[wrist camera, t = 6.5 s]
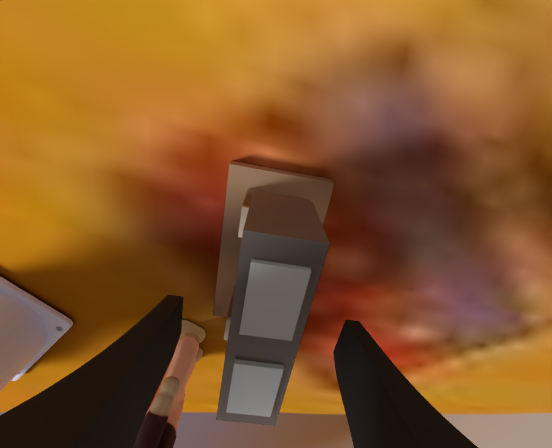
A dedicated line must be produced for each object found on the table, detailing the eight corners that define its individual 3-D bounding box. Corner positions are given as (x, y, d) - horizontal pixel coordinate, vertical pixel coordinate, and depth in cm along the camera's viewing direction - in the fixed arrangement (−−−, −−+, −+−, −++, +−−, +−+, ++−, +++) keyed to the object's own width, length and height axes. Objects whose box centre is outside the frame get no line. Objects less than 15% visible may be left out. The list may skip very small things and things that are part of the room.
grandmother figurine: (157, 308, 20) (-13, 596, 8) (208, 310, 20) (113, 598, 8) (167, 375, 23) (56, 653, 11) (211, 377, 23) (146, 654, 11)
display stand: (293, 316, 20) (297, 362, 16) (215, 305, 19) (202, 350, 16) (331, 178, 16) (348, 200, 12) (232, 160, 15) (218, 177, 11)
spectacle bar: (275, 353, 16) (275, 430, 12) (229, 347, 16) (215, 424, 12) (312, 202, 12) (331, 246, 8) (252, 192, 12) (242, 232, 8)
